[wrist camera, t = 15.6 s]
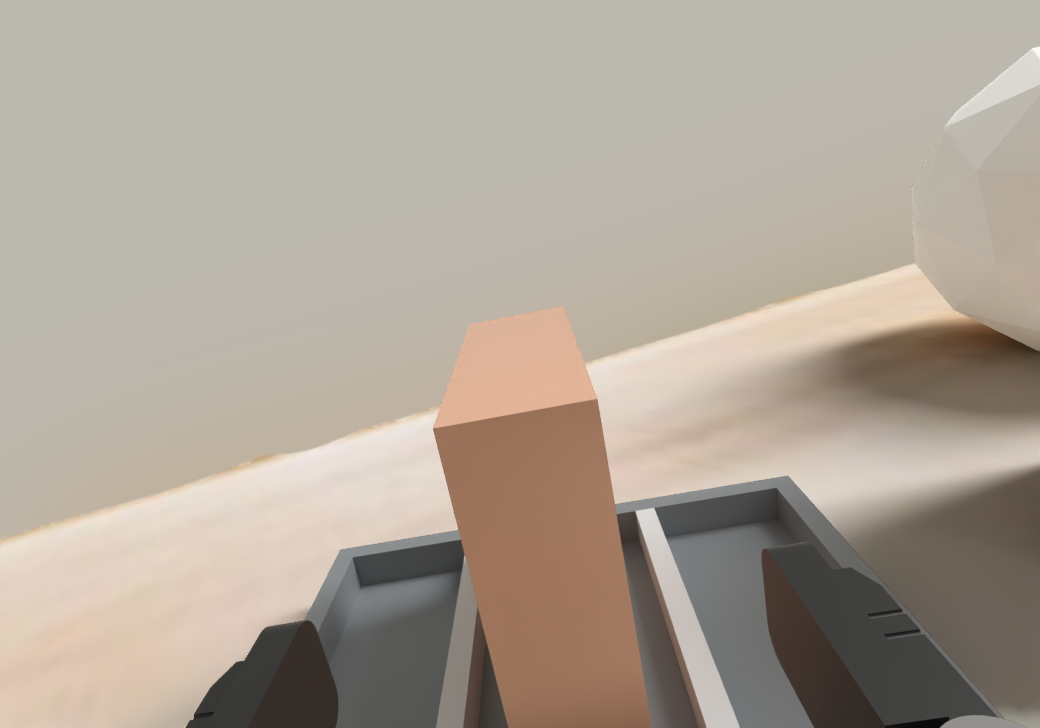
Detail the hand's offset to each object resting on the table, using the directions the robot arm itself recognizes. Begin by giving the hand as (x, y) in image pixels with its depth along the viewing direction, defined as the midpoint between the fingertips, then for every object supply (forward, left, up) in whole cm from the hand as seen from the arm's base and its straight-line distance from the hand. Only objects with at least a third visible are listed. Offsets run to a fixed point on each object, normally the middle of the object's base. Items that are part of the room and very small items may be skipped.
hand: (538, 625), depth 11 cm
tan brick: (-4, +7, -8) cm, 11 cm away
